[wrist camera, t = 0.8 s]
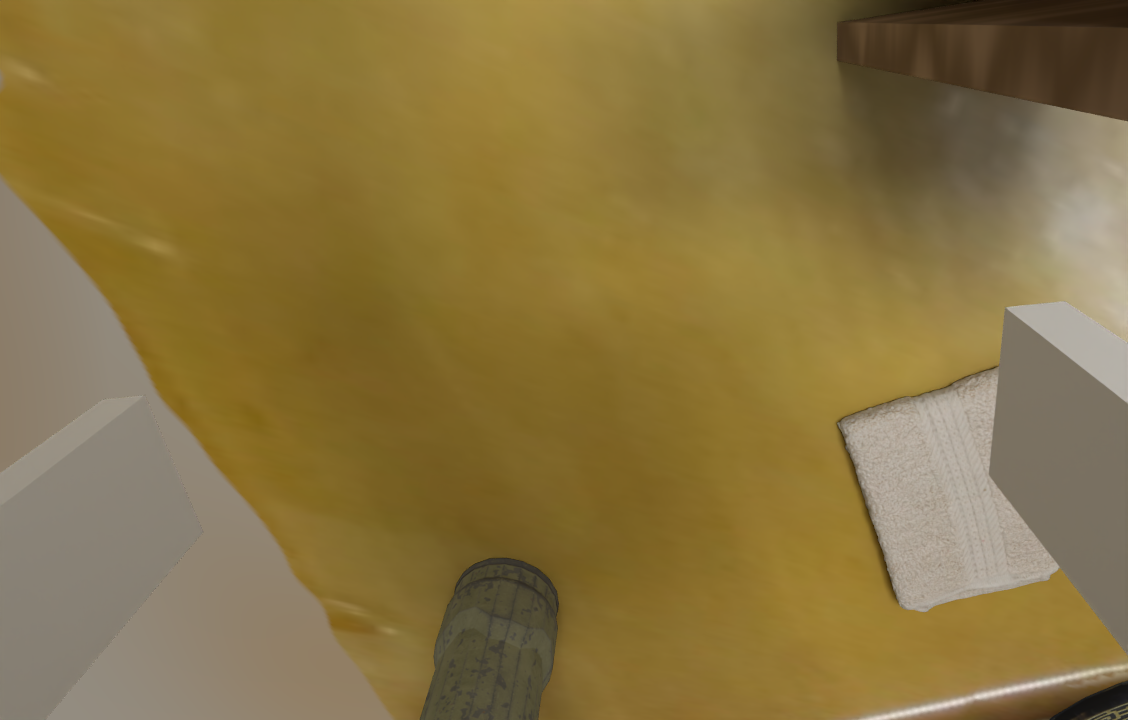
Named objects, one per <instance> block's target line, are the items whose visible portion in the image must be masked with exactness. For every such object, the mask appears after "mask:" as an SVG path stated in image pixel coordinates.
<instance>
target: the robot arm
mask: <svg viewBox="0 0 1128 720" xmlns="http://www.w3.org/2000/svg"><path fill="white" fill-rule="evenodd" d="M989 476H990V478H991V479H992V480H993V481H994V483H995V484H996V485H997V487H998V488H999V489H1000V490H1001V492H1002V493H1003V494H1004V496H1005V497H1006V498H1007V500H1008V501H1009V502H1010V503H1011V505H1012V506H1013V507H1014V509H1015V510H1016V511H1017V512H1018V514H1019V515H1020V516H1021V518H1022V519H1023V520H1024V522H1025V523H1026V524H1027V525H1028V527H1029V528H1030V529H1031V531H1032V532H1033V533H1034V534H1035V536H1036V537H1037V538H1038V540H1039V541H1040V542H1041V544H1042V545H1043V546H1044V547H1045V549H1046V550H1047V551H1048V553H1049V554H1050V555H1051V557H1052V558H1053V559H1054V560H1055V562H1056V563H1057V564H1058V566H1059V567H1060V568H1061V569H1062V571H1063V572H1064V573H1065V575H1066V576H1067V577H1068V579H1069V580H1070V581H1071V582H1072V584H1073V585H1074V586H1075V588H1076V589H1077V590H1078V591H1079V593H1080V594H1081V595H1082V597H1083V598H1084V599H1085V601H1086V602H1087V603H1088V604H1089V606H1090V607H1091V608H1092V610H1093V611H1094V612H1095V613H1096V615H1097V616H1098V617H1099V619H1100V620H1101V621H1102V623H1103V624H1104V625H1105V626H1106V628H1107V629H1108V630H1109V632H1110V633H1111V634H1112V636H1113V637H1114V638H1115V639H1116V641H1117V642H1118V643H1119V645H1120V646H1121V647H1122V648H1123V650H1124V651H1125V652H1126V654H1127V655H1128V342H1126V341H1124V340H1123V339H1121V338H1120V337H1118V336H1117V335H1115V334H1114V333H1112V332H1111V331H1109V330H1108V329H1106V328H1105V327H1103V326H1102V325H1100V324H1099V323H1097V322H1096V321H1094V320H1093V319H1091V318H1090V317H1088V316H1087V315H1085V314H1084V313H1082V312H1081V311H1079V310H1078V309H1076V308H1074V307H1073V306H1071V305H1070V304H1068V303H1067V302H1065V301H1062V302H1052V303H1043V304H1033V305H1023V306H1013V307H1005V313H1004V324H1003V334H1002V344H1001V354H1000V364H999V374H998V385H997V395H996V405H995V415H994V425H993V435H992V446H991V456H990V466H989ZM202 533H203V530H202V527H201V525H200V523H199V521H198V518H197V516H196V513H195V511H194V509H193V506H192V504H191V502H190V499H189V497H188V495H187V492H186V490H185V487H184V486H183V483H182V480H181V478H180V476H179V474H178V471H177V469H176V466H175V464H174V462H173V459H172V457H171V455H170V453H169V450H168V448H167V445H166V443H165V441H164V438H163V436H162V433H161V431H160V429H159V426H158V424H157V422H156V419H155V417H154V415H153V413H152V410H151V408H150V406H149V403H148V401H147V399H146V396H145V395H141V396H131V397H122V398H112V399H103V400H102V401H100V402H99V403H97V404H96V405H94V406H93V407H92V408H90V409H89V410H88V411H86V412H85V413H83V414H82V415H81V416H79V417H78V418H76V419H75V420H74V421H72V422H71V423H70V424H68V425H67V426H65V427H64V428H62V429H61V430H60V431H58V432H57V433H55V434H54V435H53V436H51V437H50V438H48V439H47V440H46V441H44V442H43V443H41V444H40V445H39V446H37V447H36V448H34V449H33V450H32V451H30V452H29V453H28V454H26V455H25V456H23V457H22V458H21V459H19V460H18V461H17V462H15V463H14V464H12V465H11V466H9V467H8V468H7V469H5V470H4V471H2V472H1V473H0V720H46V718H47V717H48V716H49V715H50V714H51V713H52V711H53V710H54V709H55V708H56V707H57V705H58V704H59V703H60V702H61V701H62V699H63V698H64V697H65V696H66V695H67V693H68V692H69V691H70V690H71V689H72V687H73V686H74V685H75V684H76V683H77V681H78V680H79V679H80V678H81V677H82V676H83V674H84V673H85V672H86V671H87V670H88V668H89V667H90V666H91V665H92V663H94V661H95V660H96V659H97V658H98V657H99V655H100V654H101V653H102V652H103V651H104V649H105V648H106V647H107V646H108V645H109V644H110V642H111V641H112V640H113V639H114V638H115V636H116V635H117V634H118V633H119V632H120V630H121V629H122V628H123V627H124V626H125V624H126V623H127V622H128V621H129V620H130V619H131V617H132V616H133V615H134V614H135V613H136V611H137V610H138V609H139V608H140V607H141V605H142V604H143V603H144V602H145V601H146V600H147V598H148V597H149V596H150V595H151V594H152V592H153V591H154V590H155V589H156V587H157V586H158V585H159V584H160V583H161V582H162V580H163V579H164V578H165V577H166V576H167V575H168V573H169V572H170V571H171V570H172V568H173V567H174V566H175V565H176V564H177V563H178V561H179V560H180V559H181V558H182V557H183V556H184V554H185V553H186V552H187V551H188V550H189V548H190V547H191V546H192V545H193V543H194V542H195V541H196V540H197V539H198V538H199V536H200V535H201V534H202Z"/></svg>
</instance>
